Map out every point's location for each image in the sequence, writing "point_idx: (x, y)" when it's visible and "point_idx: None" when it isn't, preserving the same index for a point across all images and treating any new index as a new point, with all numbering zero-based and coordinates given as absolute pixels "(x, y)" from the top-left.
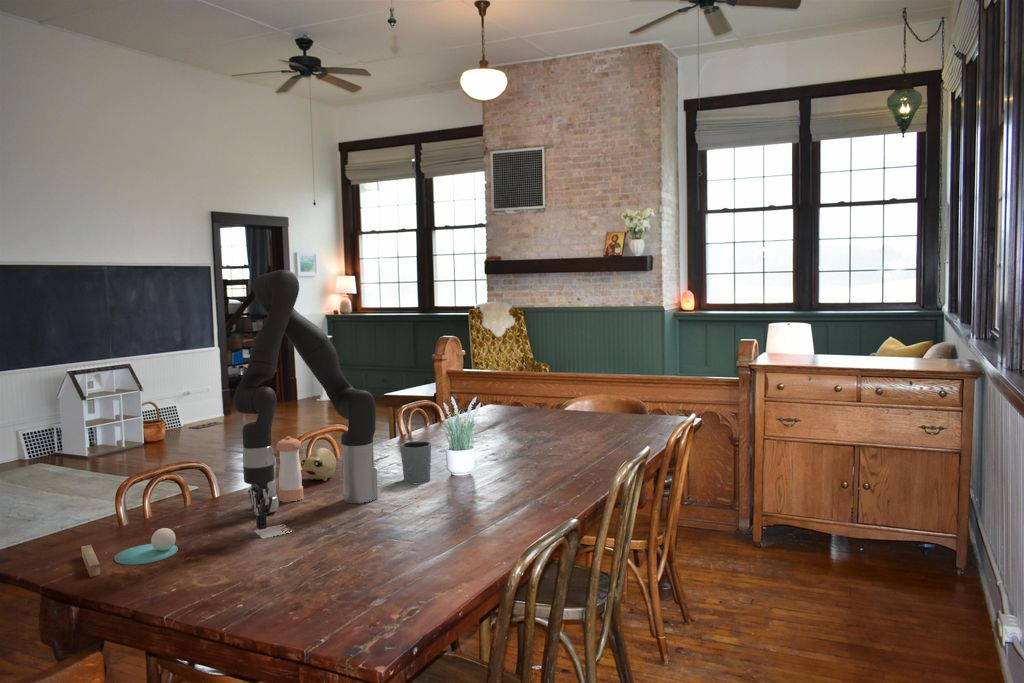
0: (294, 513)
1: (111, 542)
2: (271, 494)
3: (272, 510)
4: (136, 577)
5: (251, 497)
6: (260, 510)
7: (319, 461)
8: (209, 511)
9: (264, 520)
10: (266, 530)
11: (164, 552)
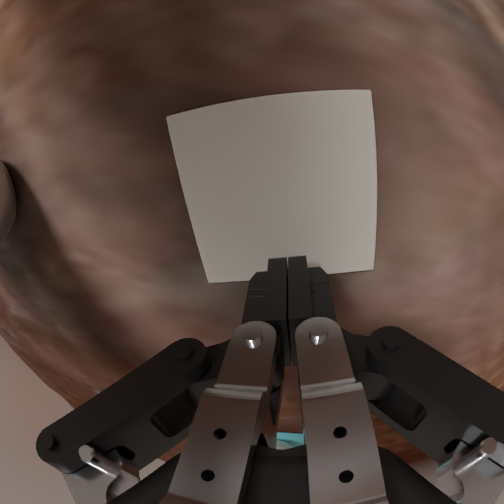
0: (28, 74)
1: (179, 452)
2: None
3: (5, 176)
4: (388, 447)
5: (152, 459)
6: (419, 409)
7: None
8: (12, 322)
9: (330, 303)
10: (248, 228)
11: (294, 443)
